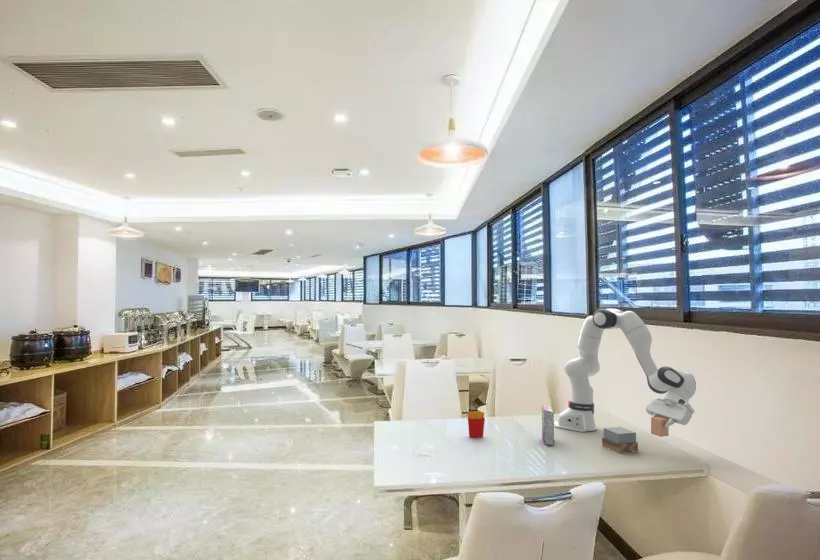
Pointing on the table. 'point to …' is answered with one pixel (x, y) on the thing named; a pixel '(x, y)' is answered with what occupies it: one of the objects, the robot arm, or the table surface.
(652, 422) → the terracotta block
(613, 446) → the walnut slab
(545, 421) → the candy bar box
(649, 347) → the robot arm
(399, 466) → the table surface
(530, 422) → the table surface
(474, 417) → the french fries
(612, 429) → the charcoal slab
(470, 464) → the table surface
